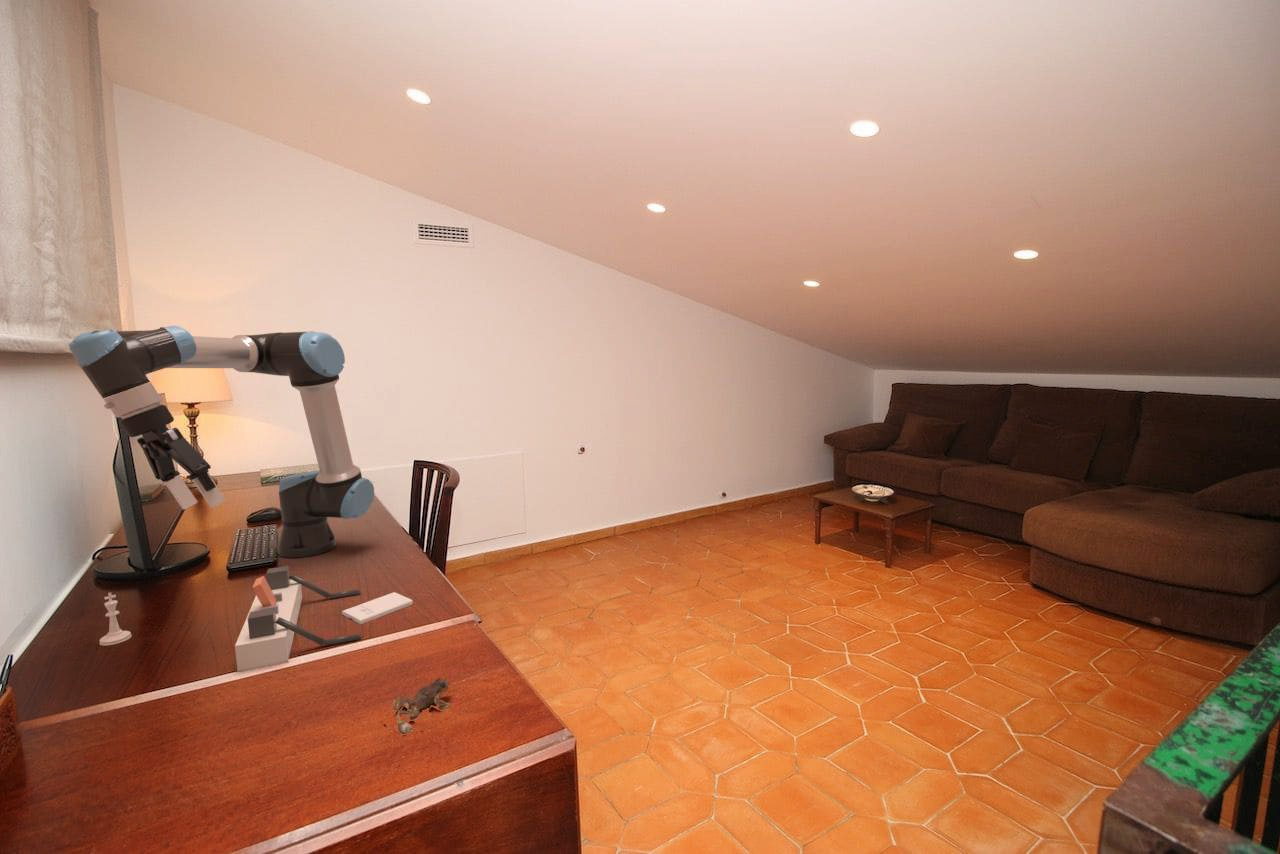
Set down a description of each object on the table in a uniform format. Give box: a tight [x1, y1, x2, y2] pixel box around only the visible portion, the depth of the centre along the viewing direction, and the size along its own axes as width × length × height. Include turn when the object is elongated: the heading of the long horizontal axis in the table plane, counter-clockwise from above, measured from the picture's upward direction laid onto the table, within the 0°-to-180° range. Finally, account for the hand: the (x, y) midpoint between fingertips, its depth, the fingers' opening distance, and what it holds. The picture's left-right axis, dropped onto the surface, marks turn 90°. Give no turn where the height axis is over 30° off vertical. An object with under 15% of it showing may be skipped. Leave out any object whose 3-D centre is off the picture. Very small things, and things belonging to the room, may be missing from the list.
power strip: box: [234, 565, 362, 672], centre depth 125 cm, size 21×32×9 cm, turn 26°
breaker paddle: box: [251, 575, 276, 607], centre depth 121 cm, size 2×5×6 cm, turn 25°
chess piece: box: [99, 592, 132, 646], centre depth 118 cm, size 5×5×10 cm
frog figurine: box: [392, 677, 451, 734], centre depth 95 cm, size 12×12×4 cm
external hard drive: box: [341, 591, 414, 625], centre depth 132 cm, size 2×8×12 cm
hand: (204, 505), depth 117 cm, fingers open, 13 cm apart
